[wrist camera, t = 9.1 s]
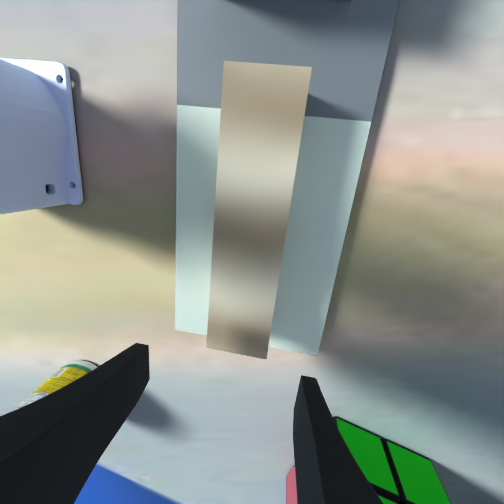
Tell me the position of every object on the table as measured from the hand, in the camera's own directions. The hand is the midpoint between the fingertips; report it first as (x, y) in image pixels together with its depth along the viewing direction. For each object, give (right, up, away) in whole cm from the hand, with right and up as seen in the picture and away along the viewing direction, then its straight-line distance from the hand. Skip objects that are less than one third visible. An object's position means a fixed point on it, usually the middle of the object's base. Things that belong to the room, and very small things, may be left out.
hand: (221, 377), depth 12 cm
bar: (+2, +8, +6) cm, 10 cm away
